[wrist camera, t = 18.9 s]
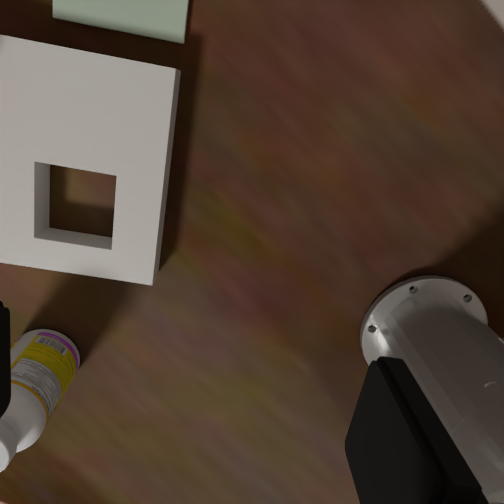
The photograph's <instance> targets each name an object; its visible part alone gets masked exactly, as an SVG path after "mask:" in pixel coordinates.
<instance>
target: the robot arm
mask: <svg viewBox="0 0 504 504" xmlns="http://www.w3.org/2000/svg"><path fill="white" fill-rule="evenodd" d="M411 286H412V287H411ZM410 287H411V288H410ZM370 325H371V326H370ZM360 345H361V349H362V352H363V355H364V357H365V359H366V361H367V363H368V365H369V368H368V371H367V374H366V377H365V380H364V384H363V387H362V390H361V393H360V396H359V399H358V402H357V405H356V408H355V411H354V414H353V417H352V421H351V424H350V427H349V430H348V433H347V436H346V440H345V452H346V456H347V460H348V463H349V467H350V470H351V473H352V477H353V480H354V484H355V487H356V491H357V494H358V497H359V501H360V504H504V338H500V337H499V336H498V335H497V334H496V333H495V332H494V331H493V330H492V329H491V328H489V327H488V320H487V314H486V311H485V308H484V306H483V304H482V302H481V301H480V299H479V298H478V297H477V295H476V294H475V293H474V292H472V291H471V290H470V289H469V288H468V287H467V286H465V285H463V284H462V283H460V282H459V281H456V280H454V279H451V278H448V277H443V276H437V275H427V276H419V277H414V278H410V279H407V280H404V281H402V282H399V283H397V284H396V285H394V286H392V287H390V288H389V289H387V290H386V291H385V292H384V293H382V294H381V295H380V296H379V297H378V298H377V299H376V300H375V301H374V302H373V304H372V305H371V306H370V308H369V309H368V311H367V313H366V314H365V317H364V319H363V322H362V325H361V331H360ZM10 400H11V351H10V311H9V309H8V308H7V307H4V306H3V303H2V302H1V301H0V418H1V417H2V416H3V414H4V413H5V412H6V410H7V408H8V406H9V403H10Z"/></svg>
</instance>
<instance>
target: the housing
mask: <svg viewBox="0 0 504 504" xmlns="http://www.w3.org/2000/svg"><path fill="white" fill-rule="evenodd" d="M180 76H181V71H180V70H178V69H175V68H170V67H164V66H159V65H154V64H149V63H144V62H139V61H134V60H128V59H123V58H118V57H113V56H108V55H103V54H98V53H92V52H87V51H82V50H77V49H72V48H67V47H61V46H56V45H51V44H46V43H41V42H36V41H31V40H25V39H20V38H15V37H10V36H5V35H0V262H1V263H8V264H14V265H21V266H27V267H34V268H41V269H47V270H54V271H61V272H67V273H74V274H80V275H87V276H94V277H100V278H107V279H113V280H120V281H127V282H133V283H140V284H147V285H153V283H154V281H155V278H156V276H157V274H158V272H159V263H160V254H161V245H162V236H163V227H164V218H165V210H166V201H167V192H168V183H169V174H170V165H171V156H172V147H173V139H174V130H175V121H176V112H177V103H178V94H179V85H180ZM50 164H52V165H58V166H64V167H70V168H75V169H81V170H87V171H93V172H99V173H105V174H110V175H116V176H117V180H116V195H115V209H114V223H113V237H105V236H99V235H93V234H86V233H80V232H74V231H68V230H61V229H55V228H49V207H50Z"/></svg>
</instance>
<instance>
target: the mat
mask: <svg viewBox="0 0 504 504" xmlns="http://www.w3.org/2000/svg"><path fill="white" fill-rule="evenodd" d="M188 5H189V0H53V18H56V19H61V20H66V21H71V22H76V23H81V24H86V25H91V26H96V27H101V28H106V29H111V30H116V31H121V32H126V33H131V34H136V35H141V36H146V37H151V38H156V39H161V40H166V41H171V42H176V43H181V44H184V41H185V32H186V23H187V14H188Z"/></svg>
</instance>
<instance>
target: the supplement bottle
mask: <svg viewBox="0 0 504 504" xmlns="http://www.w3.org/2000/svg"><path fill="white" fill-rule="evenodd" d="M10 351H11V400H10V403H9V406H8V408H7V410H6V412H5V413H4V414H3V416H2V417H1V418H0V472H2V471H3V470H4V469H5V468H6V467H7V466H8V464H9V463H10V461H11V459H12V458H13V457H14V455H15V453H16V452H19V451H22V450H24V449H26V448H28V447H29V446H31V445H32V444H33V443H34V442H35V441H36V440H37V439H38V438H39V437H40V435H41V433H42V432H43V430H44V428H45V427H46V425H47V423H48V421H49V420H50V418H51V416H52V414H53V413H54V411H55V409H56V408H57V406H58V404H59V402H60V401H61V399H62V397H63V396H64V394H65V392H66V390H67V389H68V387H69V385H70V384H71V382H72V380H73V378H74V377H75V375H76V373H77V371H78V369H79V365H80V356H79V352H78V350H77V348H76V346H75V345H74V343H73V342H72V341H71V340H70V339H69V338H68V337H66V336H65V335H63V334H61V333H59V332H57V331H54V330H49V329H38V330H33V331H30V332H27V333H26V334H24V335H22V336H21V337H20V338H19V339H18V340H17V341H16V342H15V343H14V344H13V345H12V346H11V347H10Z"/></svg>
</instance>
